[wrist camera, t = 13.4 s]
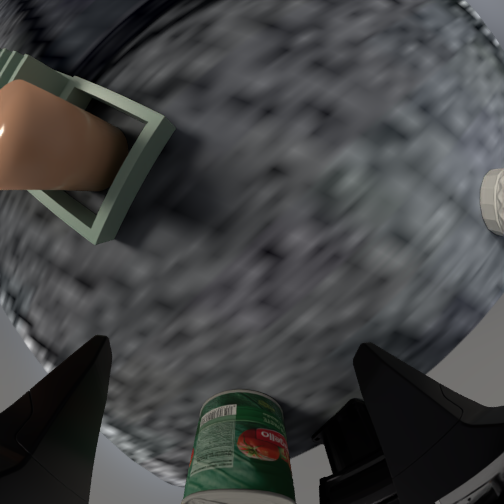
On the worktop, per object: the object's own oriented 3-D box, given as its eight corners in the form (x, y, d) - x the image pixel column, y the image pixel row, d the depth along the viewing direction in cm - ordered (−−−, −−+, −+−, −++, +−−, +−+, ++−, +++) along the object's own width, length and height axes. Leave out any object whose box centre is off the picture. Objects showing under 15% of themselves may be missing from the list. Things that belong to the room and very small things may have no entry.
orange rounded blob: (123, 193, 19) (19, 190, 8) (69, 190, 18) (-33, 190, 8) (134, 123, 18) (46, 68, 7) (79, 126, 18) (-13, 92, 7)
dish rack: (114, 239, 19) (55, 257, 12) (-3, 146, 17) (-50, 140, 10) (176, 128, 18) (138, 90, 10) (38, 66, 16) (-4, 43, 8)
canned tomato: (300, 408, 22) (322, 503, 11) (253, 450, 23) (256, 534, 12) (225, 374, 21) (213, 480, 10) (186, 423, 22) (164, 512, 12)
